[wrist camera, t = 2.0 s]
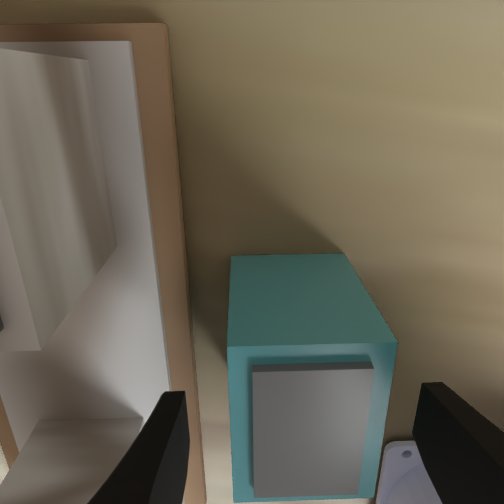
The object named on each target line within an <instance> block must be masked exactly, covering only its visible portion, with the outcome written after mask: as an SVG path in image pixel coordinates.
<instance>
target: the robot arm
mask: <svg viewBox="0 0 504 504" xmlns="http://www.w3.org/2000/svg"><path fill="white" fill-rule="evenodd" d="M412 434H413V437H414V439H415V441H393V442H390V443H388V444H387V445H386V446H385V449H384V454H383V460H382V467H381V473H380V479H379V486H378V492H377V498H376V504H504V432H502V431H501V430H500V429H499V428H497V427H496V426H495V425H494V424H492V423H491V422H490V421H489V420H487V419H486V418H485V417H484V416H482V415H481V414H480V413H479V412H478V411H476V410H475V409H474V408H473V407H472V406H470V405H469V404H468V403H467V402H466V401H464V400H463V399H462V398H461V397H460V396H458V395H457V394H456V393H455V392H454V391H452V390H451V389H450V388H449V387H447V386H446V385H445V384H443V383H442V382H432V383H422V385H421V390H420V396H419V401H418V406H417V411H416V416H415V421H414V426H413V431H412ZM189 449H190V434H189V424H188V414H187V404H186V394H185V391H165V392H164V393H163V394H162V395H161V396H160V398H159V400H158V402H157V404H156V406H155V408H154V409H153V411H152V413H151V415H150V416H149V418H148V420H147V421H146V423H145V425H144V426H143V428H142V430H141V431H140V433H139V434H138V436H137V437H136V439H135V440H134V442H133V443H132V445H131V446H130V448H129V449H128V451H127V452H126V454H125V455H124V457H123V458H122V459H121V461H120V462H119V463H118V465H117V466H116V467H115V469H114V470H113V472H112V473H111V474H110V476H109V477H108V478H107V480H106V481H105V482H104V483H103V485H102V486H101V487H100V489H99V490H98V491H97V492H96V493H95V495H94V496H93V497H92V498H91V500H90V501H89V502H88V503H87V504H182V501H183V496H184V491H185V485H186V480H187V473H188V461H189Z"/></svg>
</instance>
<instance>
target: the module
mask: <svg viewBox="0 0 504 504" xmlns="http://www.w3.org/2000/svg"><path fill="white" fill-rule="evenodd" d="M397 345H398V341H397V340H396V338H395V336H394V335H393V333H392V332H391V330H390V328H389V327H388V325H387V323H386V322H385V320H384V318H383V317H382V315H381V313H380V312H379V310H378V308H377V307H376V305H375V303H374V302H373V300H372V299H371V297H370V295H369V294H368V292H367V290H366V289H365V287H364V285H363V284H362V282H361V280H360V279H359V277H358V275H357V274H356V272H355V270H354V269H353V267H352V265H351V264H350V262H349V261H348V259H347V257H346V256H345V254H344V253H331V254H287V255H242V256H231V269H230V290H229V311H228V333H227V362H228V386H229V409H230V432H231V455H232V478H233V501H234V503H240V502H268V501H296V500H325V499H353V498H374V493H375V486H376V480H377V474H378V467H379V461H380V454H381V448H382V441H383V435H384V429H385V422H386V416H387V409H388V403H389V397H390V390H391V384H392V377H393V371H394V365H395V358H396V352H397Z"/></svg>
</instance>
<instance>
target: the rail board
mask: <svg viewBox="0 0 504 504" xmlns="http://www.w3.org/2000/svg"><path fill="white" fill-rule="evenodd" d="M165 391H185V394H186V404H187V414H188V424H189V434H190V449H189V461H188V473H187V480H186V485H185V491H184V496H183V501H182V504H206V500H207V498H206V486H205V473H204V461H203V449H202V437H201V425H200V413H199V401H198V389H197V377H196V365H195V352H194V340H193V328H192V316H191V304H190V292H189V280H188V268H187V256H186V244H185V231H184V219H183V207H182V195H181V183H180V171H179V159H178V147H177V135H176V123H175V110H174V98H173V86H172V74H171V62H170V50H169V38H168V26H167V25H165V24H164V23H89V24H0V443H1V446H2V449H3V452H4V455H5V458H6V460H7V463H8V466H9V469H10V470H9V472H8V473H7V475H6V477H5V478H4V480H3V482H2V484H1V485H0V504H87V503H88V502H89V501H90V500H91V498H92V497H93V496H94V495H95V493H96V492H97V491H98V490H99V489H100V487H101V486H102V485H103V483H104V482H105V481H106V480H107V478H108V477H109V476H110V474H111V473H112V472H113V470H114V469H115V467H116V466H117V465H118V463H119V462H120V461H121V459H122V458H123V457H124V455H125V454H126V452H127V451H128V449H129V448H130V446H131V445H132V443H133V442H134V440H135V439H136V437H137V436H138V434H139V433H140V431H141V430H142V428H143V426H144V425H145V423H146V421H147V420H148V418H149V416H150V415H151V413H152V411H153V409H154V408H155V406H156V404H157V402H158V400H159V398H160V396H161V395H162V394H163V393H164V392H165Z"/></svg>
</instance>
